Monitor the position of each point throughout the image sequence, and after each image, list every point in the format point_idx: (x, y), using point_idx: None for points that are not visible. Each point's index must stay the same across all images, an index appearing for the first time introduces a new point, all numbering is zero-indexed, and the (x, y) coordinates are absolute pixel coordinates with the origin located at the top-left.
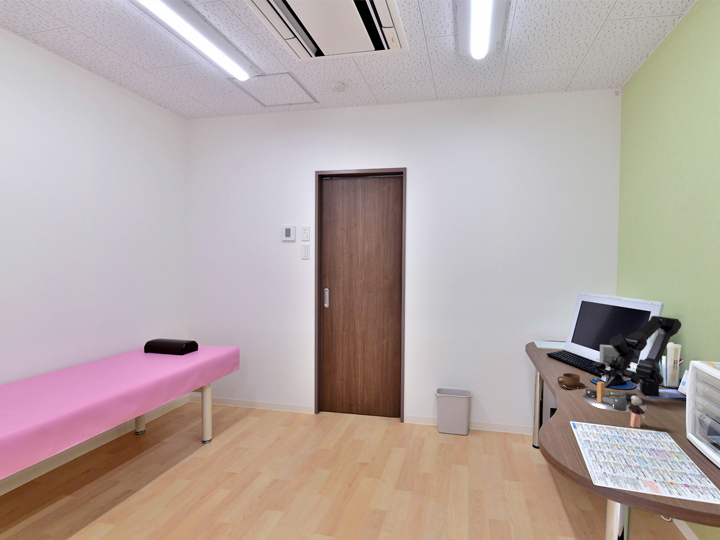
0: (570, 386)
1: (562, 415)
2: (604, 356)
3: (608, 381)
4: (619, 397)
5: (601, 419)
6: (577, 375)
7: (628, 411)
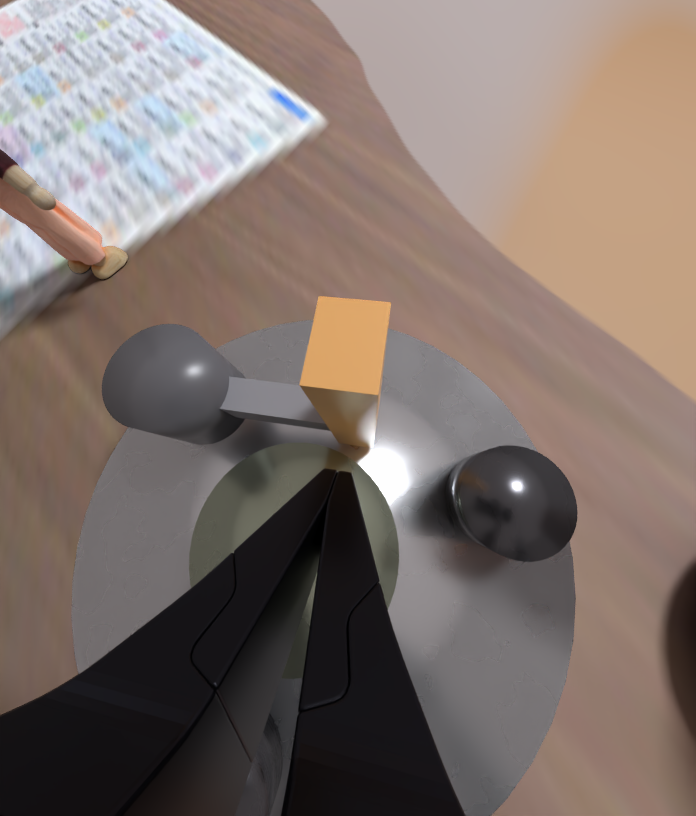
0: None
1: (381, 135)
2: None
3: (299, 531)
4: (170, 407)
5: (243, 232)
6: None
7: (45, 193)
